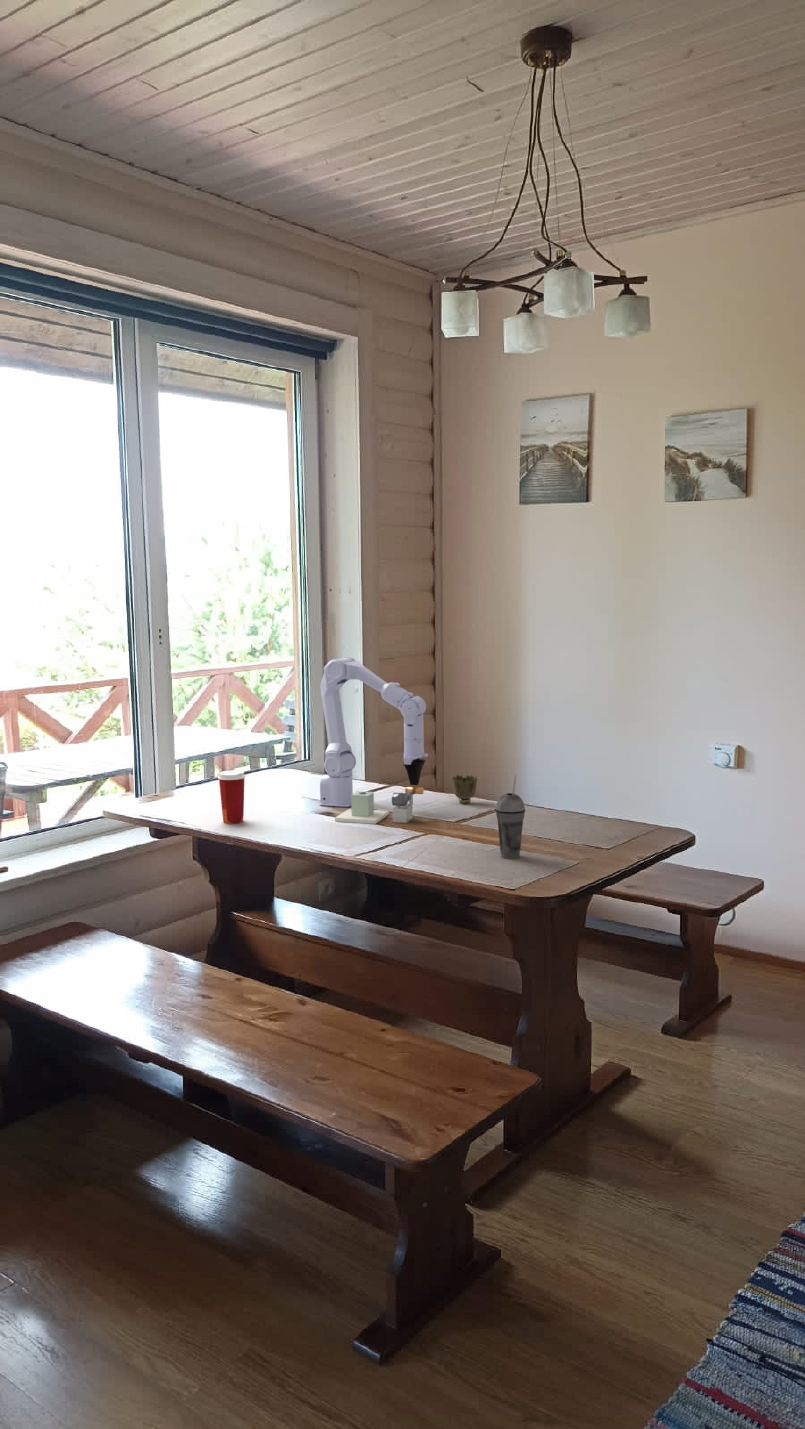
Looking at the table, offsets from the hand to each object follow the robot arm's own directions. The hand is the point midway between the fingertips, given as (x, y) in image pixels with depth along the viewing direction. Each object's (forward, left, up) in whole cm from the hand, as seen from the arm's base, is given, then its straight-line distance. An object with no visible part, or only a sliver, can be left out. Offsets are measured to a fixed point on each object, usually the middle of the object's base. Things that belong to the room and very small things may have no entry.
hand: (414, 784), depth 292 cm
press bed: (-12, -12, -8) cm, 19 cm away
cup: (+12, +13, -8) cm, 19 cm away
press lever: (0, -8, -3) cm, 8 cm away
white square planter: (0, -12, -8) cm, 14 cm away
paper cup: (-46, -25, -8) cm, 53 cm away
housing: (-12, -12, -7) cm, 18 cm away
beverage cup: (+36, -41, -8) cm, 55 cm away
